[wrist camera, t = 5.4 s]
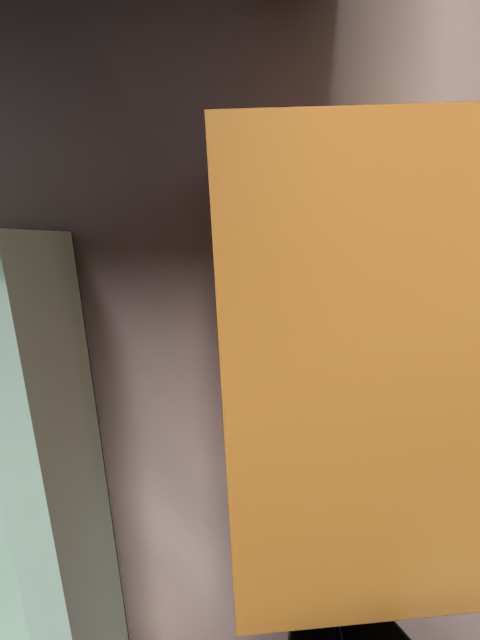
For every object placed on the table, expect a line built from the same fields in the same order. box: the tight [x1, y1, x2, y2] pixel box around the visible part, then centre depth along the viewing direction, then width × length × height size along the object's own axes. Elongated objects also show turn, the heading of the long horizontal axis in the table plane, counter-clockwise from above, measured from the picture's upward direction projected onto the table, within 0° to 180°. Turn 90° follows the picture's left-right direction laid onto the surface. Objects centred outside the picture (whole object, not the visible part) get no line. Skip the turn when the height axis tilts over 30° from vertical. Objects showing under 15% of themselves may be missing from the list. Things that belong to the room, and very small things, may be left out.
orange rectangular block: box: [204, 101, 480, 636], centre depth 6 cm, size 7×4×4 cm, turn 3°
